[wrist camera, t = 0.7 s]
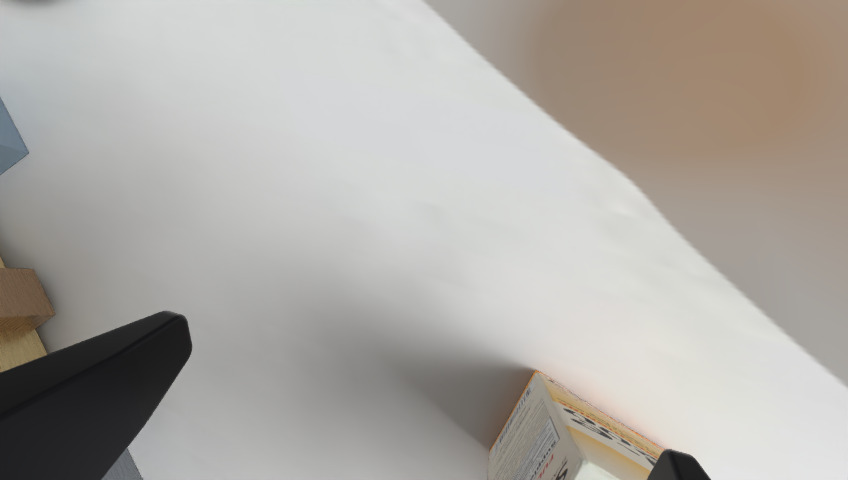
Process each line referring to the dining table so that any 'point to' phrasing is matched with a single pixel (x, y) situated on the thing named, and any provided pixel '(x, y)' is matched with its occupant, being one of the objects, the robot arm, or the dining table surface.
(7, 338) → the upright wooden plank
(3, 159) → the blue-grey rectangular block
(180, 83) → the dining table surface
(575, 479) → the supplement box
